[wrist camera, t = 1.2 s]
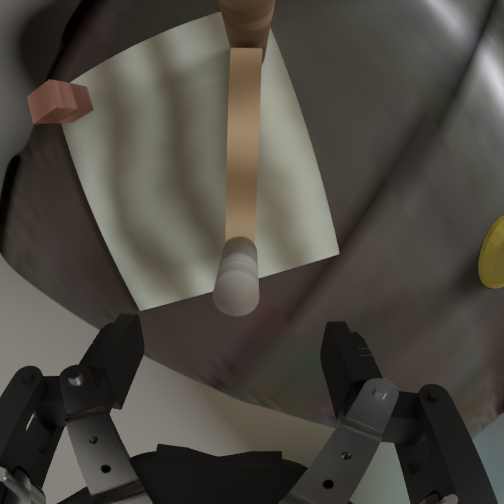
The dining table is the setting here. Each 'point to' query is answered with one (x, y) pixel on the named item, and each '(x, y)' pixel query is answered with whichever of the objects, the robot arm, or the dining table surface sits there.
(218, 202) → the towel on rod
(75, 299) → the dining table surface
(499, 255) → the handbell
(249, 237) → the wooden panel
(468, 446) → the robot arm
